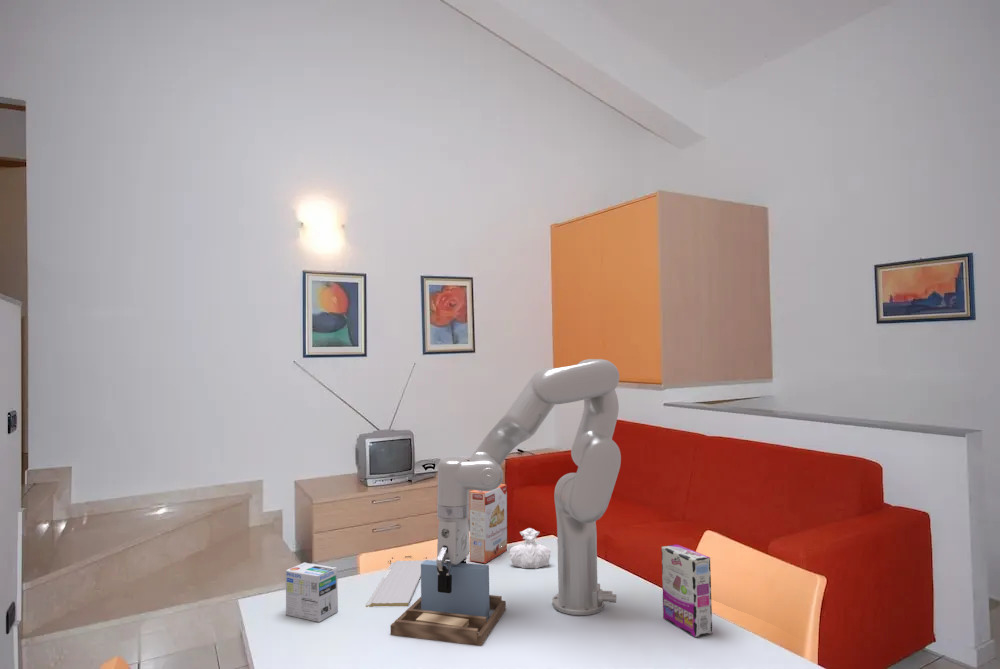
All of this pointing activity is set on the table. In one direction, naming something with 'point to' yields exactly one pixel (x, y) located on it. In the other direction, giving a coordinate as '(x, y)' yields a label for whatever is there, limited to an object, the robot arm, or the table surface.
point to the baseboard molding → (397, 584)
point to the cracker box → (488, 524)
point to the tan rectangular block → (442, 620)
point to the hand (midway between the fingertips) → (452, 584)
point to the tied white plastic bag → (529, 552)
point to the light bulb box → (311, 591)
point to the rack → (448, 633)
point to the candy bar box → (687, 590)
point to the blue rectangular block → (457, 589)
